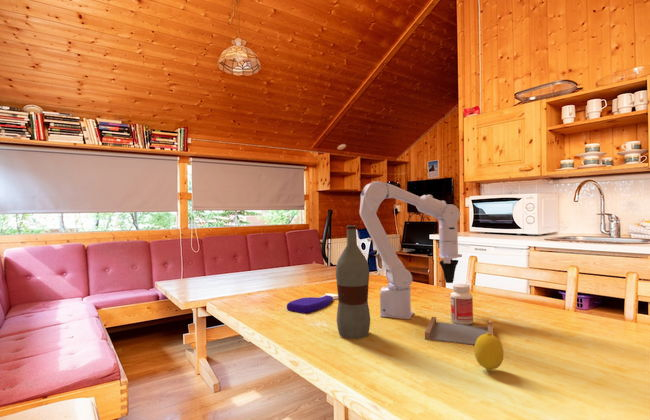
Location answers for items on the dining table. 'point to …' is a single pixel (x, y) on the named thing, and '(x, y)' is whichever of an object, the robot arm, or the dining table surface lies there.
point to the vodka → (352, 290)
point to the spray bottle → (310, 303)
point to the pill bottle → (461, 305)
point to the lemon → (488, 351)
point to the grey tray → (455, 332)
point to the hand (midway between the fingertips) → (449, 282)
